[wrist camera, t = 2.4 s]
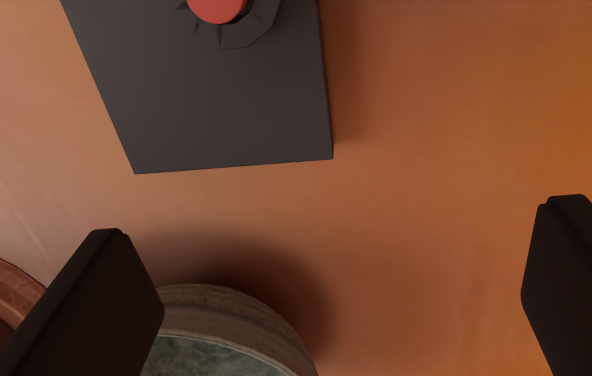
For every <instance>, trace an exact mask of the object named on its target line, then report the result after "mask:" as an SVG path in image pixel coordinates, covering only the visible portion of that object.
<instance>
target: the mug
mask: <svg viewBox="0 0 592 376" xmlns="http://www.w3.org/2000/svg"><path fill="white" fill-rule="evenodd" d="M45 291H46V289H45V288H44V287H43V286H41V285H40V284H39V283H37V282H36V281H34V280H33V279H32V278H30V277H29V276H27V275H26V274H25V273H23V272H22V271H20V270H19V269H18V268H16V267H14V266H12V265H10V264H8V263H6V262H4V261H2V260H0V350H1V348H2V347H3V346H4V344H5V343H6V342H7V341H8V339H9V338H10V337H11V335H12V334H13V333H14V331H15V330H16V329H17V327H18V326H19V325H20V324H21V322H22V321H23V320H24V318H25V317H26V316H27V314H28V313H29V312H30V310H31V309H32V308H33V306H34V305H35V304H36V303H37V301H38V300H39V299H40V297H41V296H42V295H43V293H44V292H45Z"/></svg>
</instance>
